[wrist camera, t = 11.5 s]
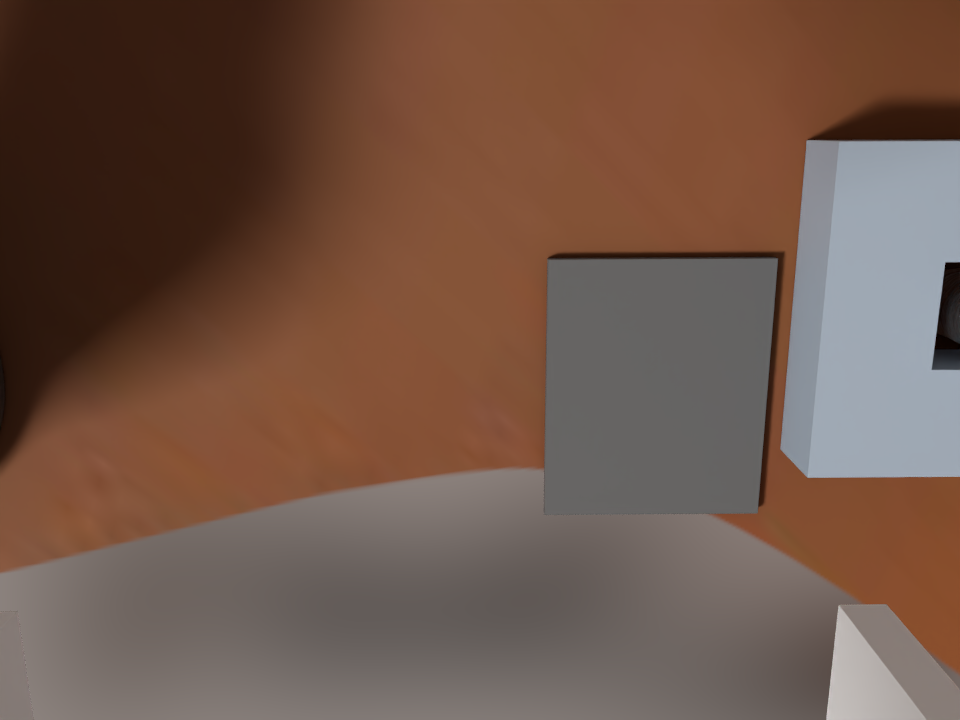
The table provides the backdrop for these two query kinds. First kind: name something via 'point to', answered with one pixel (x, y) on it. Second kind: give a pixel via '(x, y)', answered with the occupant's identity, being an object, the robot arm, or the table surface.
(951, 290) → the pin
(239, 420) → the table surface
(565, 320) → the mat
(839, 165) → the socket block
